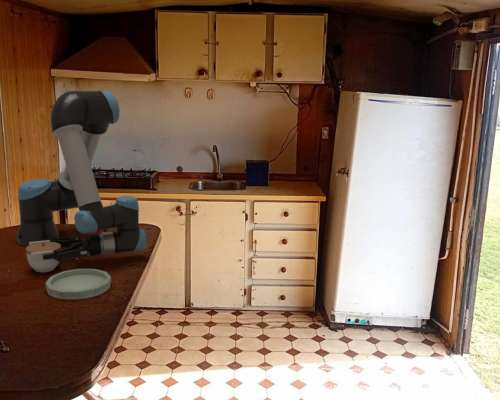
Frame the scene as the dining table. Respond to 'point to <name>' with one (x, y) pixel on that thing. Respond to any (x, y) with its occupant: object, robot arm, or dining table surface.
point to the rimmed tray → (78, 284)
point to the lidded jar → (42, 247)
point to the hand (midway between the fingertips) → (30, 251)
